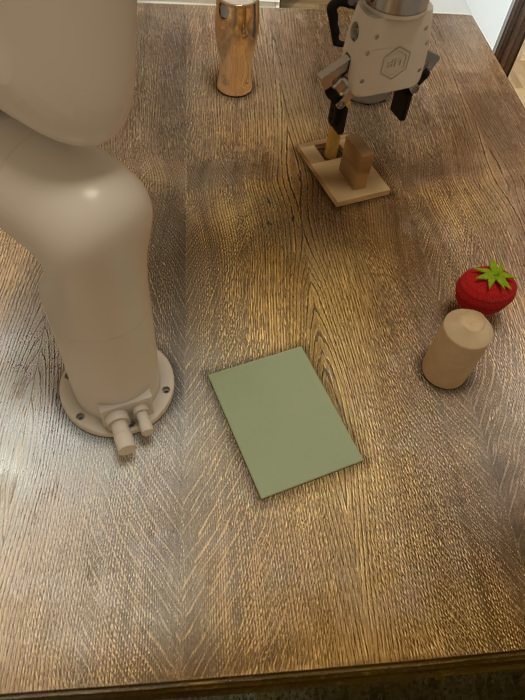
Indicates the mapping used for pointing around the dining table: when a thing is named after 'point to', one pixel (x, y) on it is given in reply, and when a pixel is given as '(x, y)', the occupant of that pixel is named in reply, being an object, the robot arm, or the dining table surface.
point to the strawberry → (486, 289)
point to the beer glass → (236, 44)
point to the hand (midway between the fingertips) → (366, 121)
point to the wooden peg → (333, 141)
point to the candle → (457, 348)
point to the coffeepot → (349, 2)
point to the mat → (283, 421)
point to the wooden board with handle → (345, 170)
